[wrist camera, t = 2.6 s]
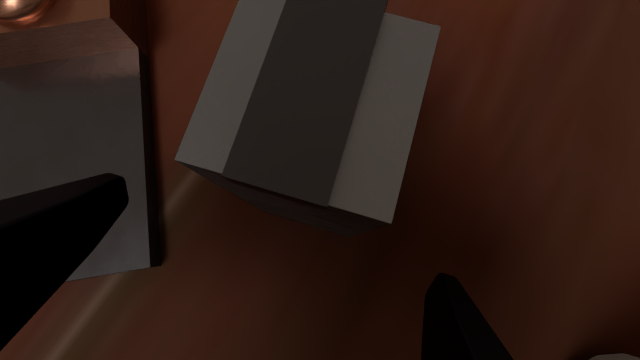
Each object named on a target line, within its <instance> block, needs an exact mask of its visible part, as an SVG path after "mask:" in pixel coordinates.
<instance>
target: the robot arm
mask: <svg viewBox="0 0 640 360" xmlns="http://www.w3.org/2000/svg"><path fill="white" fill-rule="evenodd" d="M128 202H129V196H128V191H127V186H126V181H125V179H124V178H123V177H122V176H119V175H116V174H113V173H104V174H100V175H96V176H92V177H89V178H85V179H81V180H77V181H73V182H69V183H65V184H61V185H57V186H53V187H49V188H46V189H42V190H38V191H34V192H30V193H26V194H22V195H18V196H14V197H10V198H6V199H3V200H0V351H1V350H2V349H3V348H4V347H5V346H6V345H7V343H8V342H9V341H10V340H11V339H12V338H13V337H14V336H15V335H16V334H17V333H18V332H19V331H20V329H21V328H22V327H23V326H24V325H25V324H26V323H27V322H28V321H29V320H30V319H31V318H32V317H33V315H34V314H35V313H36V312H37V311H38V310H39V309H40V308H41V307H42V306H43V305H44V304H45V302H46V301H47V300H48V299H49V298H50V297H51V296H52V295H53V294H54V293H55V292H56V291H57V290H58V288H59V287H60V286H61V285H62V284H63V283H64V282H65V281H66V280H67V279H68V278H69V277H70V275H71V274H72V273H73V272H74V271H75V270H76V269H77V268H78V267H79V266H80V265H81V264H82V263H83V261H84V260H85V259H86V258H87V257H88V256H89V255H90V254H91V253H92V251H93V250H94V249H95V248H96V247H97V245H98V244H99V243H100V242H101V240H102V239H103V238H104V236H105V235H106V234H107V232H108V231H109V230H110V228H111V227H112V226H113V224H114V223H115V222H116V220H117V219H118V218H119V216H120V215H121V214H122V212H123V211H124V210H125V209H126V207H127V205H128ZM421 360H513V358H512V357H511V355H510V354H509V353H508V351H507V350H506V348H505V347H504V345H503V344H502V343H501V341H500V340H499V338H498V337H497V335H496V334H495V332H494V331H493V330H492V328H491V327H490V325H489V324H488V322H487V321H486V320H485V318H484V317H483V315H482V314H481V312H480V311H479V309H478V308H477V307H476V305H475V304H474V302H473V301H472V299H471V298H470V297H469V295H468V294H467V292H466V291H465V289H464V288H463V286H462V285H461V284H460V282H459V281H458V279H457V278H456V277H454V276H451V275H448V274H445V273H439V274H438V275H437V276H436V278H435V279H434V281H433V282H432V284H431V285H430V287H429V289H428V290H427V292H426V295H425V304H424V319H423V334H422V352H421Z"/></svg>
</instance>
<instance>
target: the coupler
mask: <svg viewBox="0 0 640 360" xmlns="http://www.w3.org/2000/svg"><path fill="white" fill-rule="evenodd" d="M104 173H113V174H116V175H119V176H122V177H123V178H124V179H125V181H126V186H127V191H128V196H129V202H128V205H127V207H126V209H125V210H124V211H123V212H122V214H121V215H120V216H119V218H118V219H117V220H116V222H115V223H114V224H113V226H112V227H111V228H110V230H109V231H108V232H107V234H106V235H105V236H104V238H103V239H102V240H101V242H100V243H99V244H98V245H97V247H96V248H95V249H94V250H93V251H92V253H91V254H90V255H89V256H88V257H87V258H86V259H85V260H84V261H83V263H82V264H81V265H80V266H79V267H78V268H77V269H76V270H75V271H74V272H73V273H72V274H71V275H70V277H69V278H68V279H67V280H66V281H65V282H68V281H74V280H80V279H86V278H91V277H97V276H103V275H109V274H115V273H121V272H127V271H133V270H139V269H145V268H151V267H156V266H161V260H160V244H159V227H158V211H157V194H156V178H155V161H154V145H153V128H152V112H151V95H150V78H149V62H148V45H147V29H146V12H145V0H0V200H3V199H6V198H10V197H14V196H18V195H22V194H26V193H30V192H34V191H38V190H42V189H46V188H49V187H53V186H57V185H61V184H65V183H69V182H73V181H77V180H81V179H85V178H89V177H92V176H96V175H100V174H104Z"/></svg>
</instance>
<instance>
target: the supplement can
mask: <svg viewBox="0 0 640 360" xmlns="http://www.w3.org/2000/svg"><path fill="white" fill-rule="evenodd" d="M589 360H640V358H638V357H634V356H631V355H628V354H624V353H620V354H606V355H597V356H595V357H593V358H591V359H589Z"/></svg>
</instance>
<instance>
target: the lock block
mask: <svg viewBox="0 0 640 360" xmlns="http://www.w3.org/2000/svg"><path fill="white" fill-rule="evenodd" d="M387 3H388V0H239V1H238V4H237V6H236V9H235V11H234V14H233V16H232V19H231V21H230V24H229V26H228V29H227V31H226V34H225V36H224V38H223V41H222V43H221V46H220V48H219V51H218V53H217V56H216V58H215V61H214V63H213V66H212V68H211V71H210V73H209V76H208V78H207V80H206V83H205V85H204V88H203V90H202V93H201V95H200V98H199V100H198V103H197V105H196V108H195V110H194V113H193V115H192V118H191V120H190V123H189V125H188V127H187V130H186V132H185V135H184V137H183V140H182V142H181V145H180V147H179V150H178V152H177V155H176V157H175V160H176V161H177V162H179V163H181V164H183V165H184V166H186V167H188V168H190V169H191V170H193V171H195V172H196V173H198V174H200V175H202V176H203V177H205V178H207V179H209V180H210V181H212V182H214V183H215V184H217V185H219V186H221V187H222V188H224V189H226V190H227V191H229V192H231V193H233V194H234V195H236V196H238V197H240V198H241V199H243V200H245V201H246V202H248V203H250V204H252V205H253V206H255V207H257V208H259V209H260V210H262V211H264V212H267V213H271V214H274V215H277V216H281V217H284V218H287V219H291V220H294V221H297V222H301V223H304V224H307V225H311V226H314V227H317V228H321V229H324V230H327V231H331V232H334V233H337V234H341V235H344V236H347V237H350V236H354V235H357V234H360V233H363V232H366V231H370V230H373V229H376V228H379V227H382V226H386V225H389V224H392V220H393V216H394V212H395V208H396V204H397V200H398V196H399V192H400V188H401V184H402V179H403V175H404V171H405V167H406V163H407V159H408V155H409V151H410V147H411V143H412V139H413V135H414V131H415V127H416V123H417V119H418V115H419V111H420V107H421V103H422V99H423V95H424V91H425V87H426V83H427V79H428V75H429V71H430V67H431V63H432V59H433V55H434V51H435V47H436V43H437V39H438V35H439V31H440V27H441V26H437V25H433V24H429V23H425V22H421V21H417V20H413V19H409V18H405V17H401V16H397V15H393V14H389V13H385V10H386V6H387Z"/></svg>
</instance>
